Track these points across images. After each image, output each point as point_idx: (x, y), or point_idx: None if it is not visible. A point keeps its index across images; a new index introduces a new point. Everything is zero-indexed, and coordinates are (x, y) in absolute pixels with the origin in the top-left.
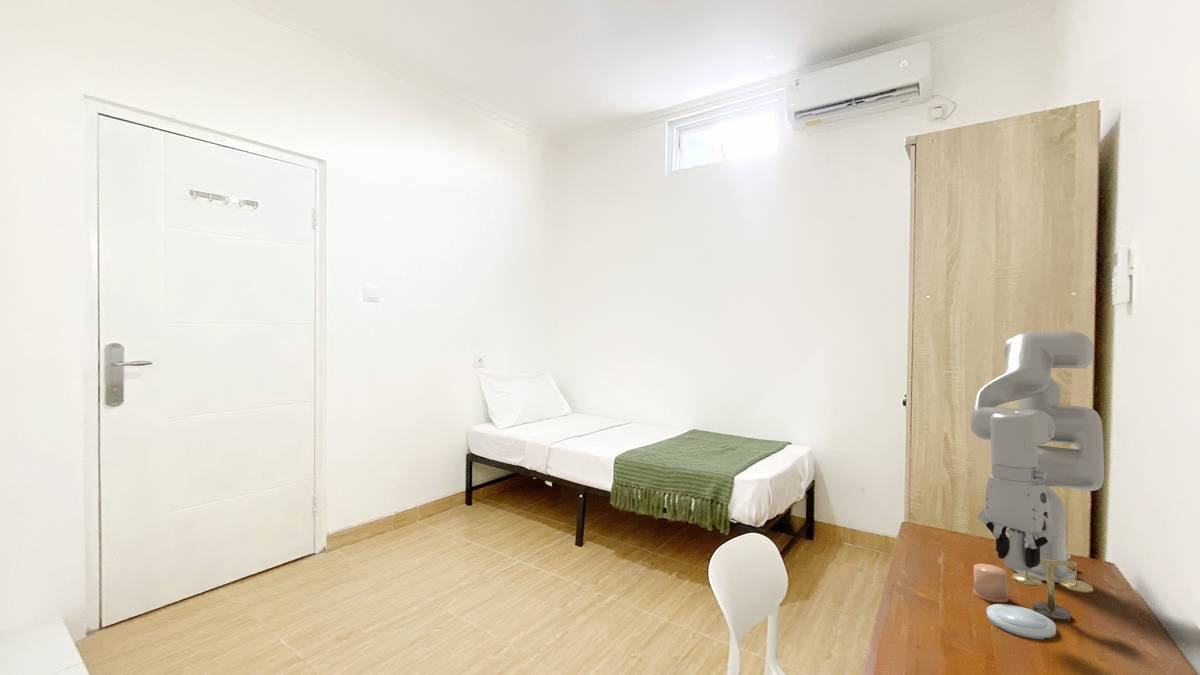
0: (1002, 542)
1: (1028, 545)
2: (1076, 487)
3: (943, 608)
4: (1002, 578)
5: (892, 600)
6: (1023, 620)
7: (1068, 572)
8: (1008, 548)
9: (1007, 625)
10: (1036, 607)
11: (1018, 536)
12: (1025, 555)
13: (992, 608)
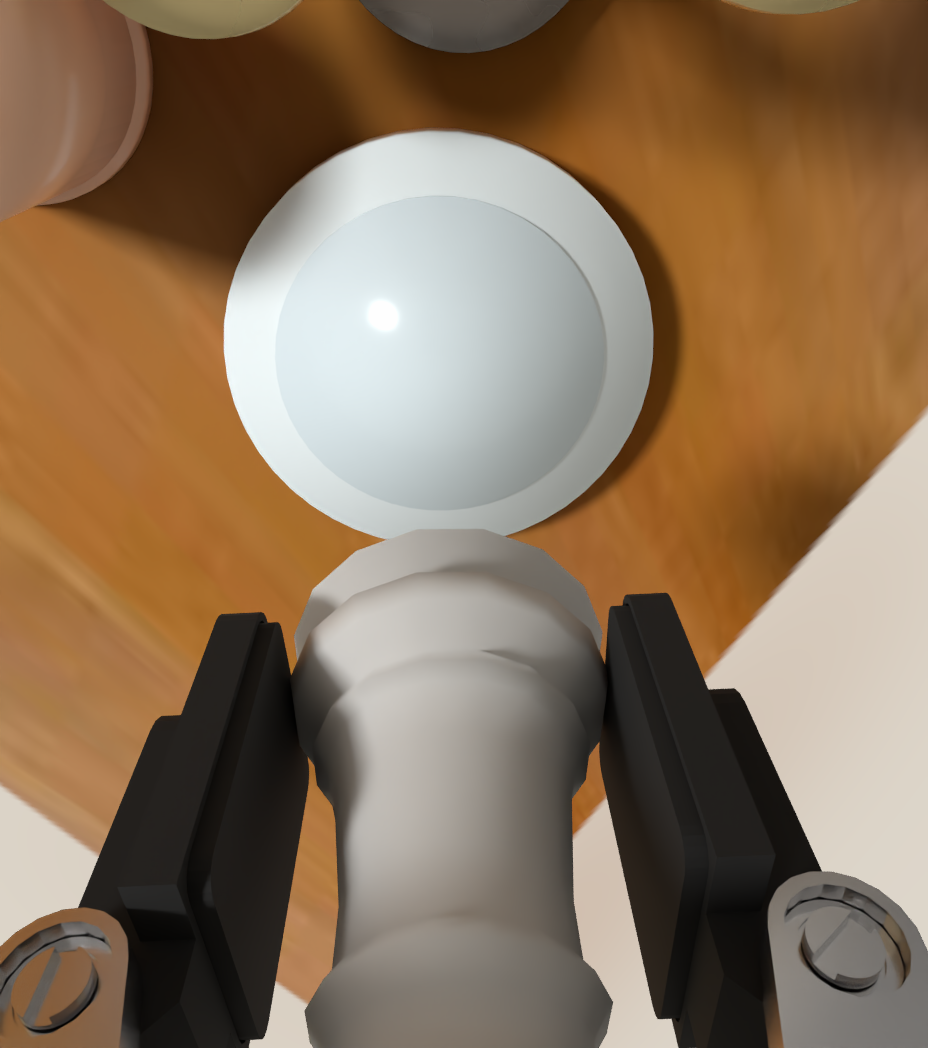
0: (266, 994)
1: (695, 1034)
2: None
3: (115, 593)
4: (51, 102)
5: None
6: (482, 404)
7: None
8: (259, 738)
9: None
10: (384, 4)
11: None
12: (572, 794)
13: (269, 411)
